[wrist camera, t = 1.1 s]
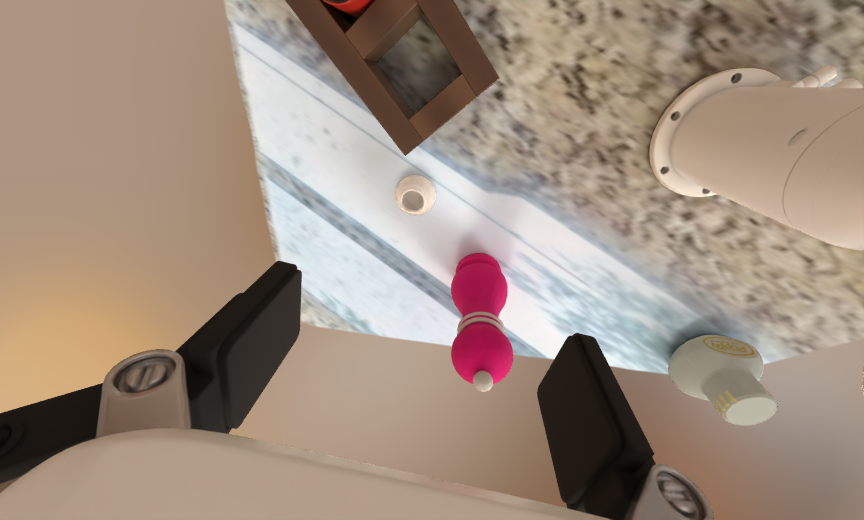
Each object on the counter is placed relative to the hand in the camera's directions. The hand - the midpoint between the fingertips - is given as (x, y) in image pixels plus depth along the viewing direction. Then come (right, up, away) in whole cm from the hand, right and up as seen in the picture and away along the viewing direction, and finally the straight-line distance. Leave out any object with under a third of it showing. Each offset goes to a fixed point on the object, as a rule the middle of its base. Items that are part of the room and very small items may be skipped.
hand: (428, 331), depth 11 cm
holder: (-4, +26, +22) cm, 34 cm away
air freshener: (+40, -11, +37) cm, 56 cm away
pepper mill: (+7, +1, +35) cm, 35 cm away
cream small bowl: (-2, +11, +30) cm, 32 cm away
